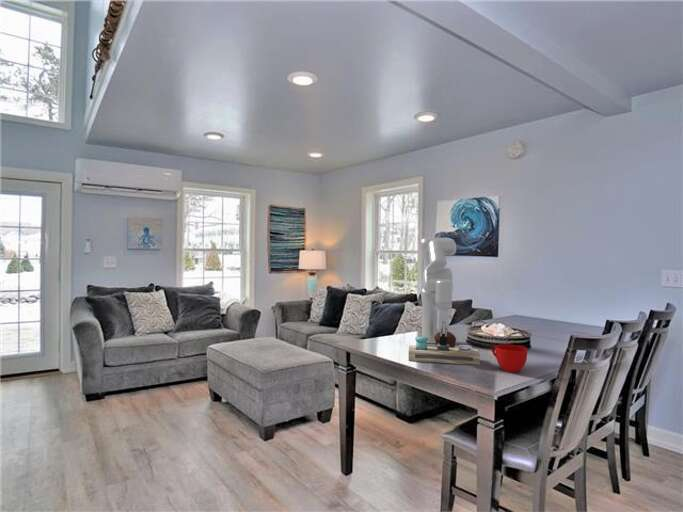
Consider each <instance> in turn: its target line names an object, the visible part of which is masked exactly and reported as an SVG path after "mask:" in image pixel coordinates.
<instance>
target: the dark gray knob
mask: <svg viewBox="0 0 683 512" xmlns="http://www.w3.org/2000/svg"><path fill="white" fill-rule="evenodd" d="M437 348H438V351H448V350H449V348H450V345H449V344H447V345H440V343H439V344H437Z"/></svg>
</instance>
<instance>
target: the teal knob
mask: <svg viewBox="0 0 683 512" xmlns="http://www.w3.org/2000/svg"><path fill="white" fill-rule="evenodd" d="M414 338H415V342H416V345H415V346H416V350H427V347H428V343H427V341H428V337H423V336H422V335H421V336H415V337H414Z"/></svg>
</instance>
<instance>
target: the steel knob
mask: <svg viewBox="0 0 683 512" xmlns="http://www.w3.org/2000/svg"><path fill="white" fill-rule="evenodd" d="M457 348H458V349H459V352H470V351H471V349H473V347H472V345H468V344H459V345H458V347H457Z"/></svg>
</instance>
